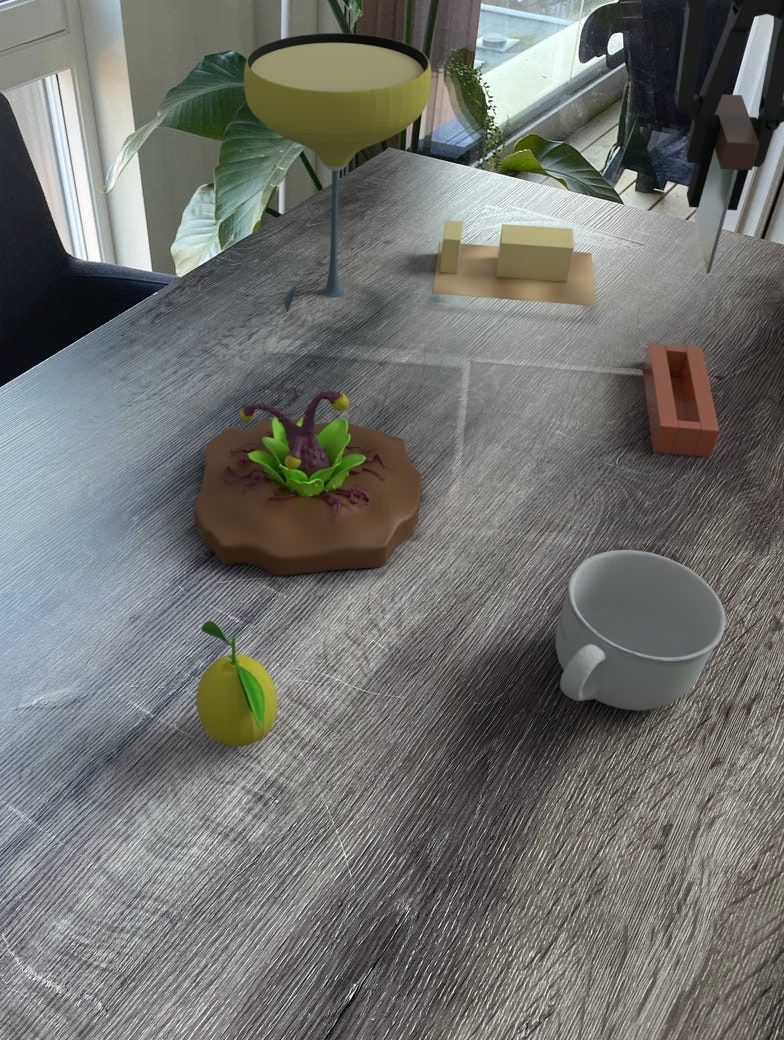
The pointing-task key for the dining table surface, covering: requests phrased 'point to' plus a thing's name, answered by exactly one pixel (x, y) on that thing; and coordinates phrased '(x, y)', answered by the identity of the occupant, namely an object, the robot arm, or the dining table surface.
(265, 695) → the lemon
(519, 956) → the dining table surface
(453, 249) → the butter slice
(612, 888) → the dining table surface
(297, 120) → the cocktail glass
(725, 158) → the knife
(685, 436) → the knife stand
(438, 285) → the board
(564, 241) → the butter
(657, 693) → the teacup
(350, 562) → the plant
